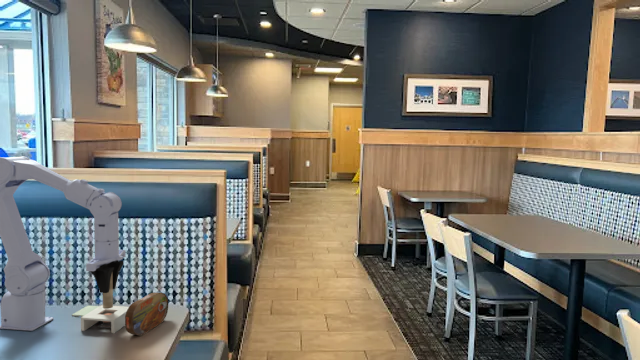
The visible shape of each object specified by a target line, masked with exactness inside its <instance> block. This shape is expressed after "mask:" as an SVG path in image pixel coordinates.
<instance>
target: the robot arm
mask: <svg viewBox="0 0 640 360" xmlns="http://www.w3.org/2000/svg"><path fill="white" fill-rule="evenodd" d="M29 180H34V181H36V182H39V183H41V184H44V185H46V186H48V187H51V188H53V189H55V190H59V191H60V192H62V193H63V194H64V197H65V199H66V200H68V201H70V202H72V203H74V204H77V205H79V206H81V207H83V208H85V209H87V210H89V212H90V213H91V214H92V216H93V221H94V222H93V226H94V229H93V230H94V231H93V232H94V234H93V235H94V256H93V258H92V259H90V260H89V261H88V262H86V264H85V271H86V272H90V273H91V274H92V276H93V277H94V279H95V281H96V284H97V287H98V291H99V294H103V293H108V292H109V289H110V279H111V274H112V272H113V290H115V289H116V285H117V282H118V279H119V275H120V273H121V270H122V268H123V266H124V263H125V261H124V260H123V259H124V258H126V249H120V241H119V240H120V238H119V237H120V236H119V234H120V233H119V232H120V231H119V229H120V228H119V227H120V226H119V223H120V222H119V211H120V210H121V208H122V205H123V203H122V199H121V198H120V196H119V195H117V194H116V193H115V192H113V191H108V192H105V191H106V190H105V189H104V188H98V187H96V186H93V185H91V184H89V183H88V182H89V181H88V180H86V179H83V178H82V179H79V178H78V179H74V180H73V179H72V180H70V179H69V178H67V177H65V176H63V175H62V174H59V173H57V172H56V171H54V170H52V169H50V168H48V167H46V166H44V165H42V163H40V162H38V161H37V160H34V159H30V158H29V157H26V156H24V155H23V156H22V155H20V156H14V157H13V156H12V157H4V156H3V157H1V156H0V240H1V242H2V245H3V247H4V250H5V253H6V256H7V259H8V260H7V262H6V264H5V266H4V268H3V272H4V274H5V279H4V286H5V288H6V291H7V292H5V293H4V294H3V296H2V298H1V301H0V323H1V324H0V329H1V330H2V329H3V330H4V329H5V330H15V331H17V330H18V331H29V332H30V331H35V330H37V329H39V328H40V327H42V326H43V325H45V324H48V323H49V322H51V321H53V320H54V317H52V316H46V295H45V294H46V292H45V291H46V290H45V289H46V283H47V282H48V280H49V278H50V276H51V271H50V268H49V266H48V265H47V264H46V263H45V262H44V260H43V259H42V257H41V255H39V254H38V253H36V252H34V251H33V248H32V245H31V243H30V239H29V237H28V234H27V230H26V229H25V225H24V222H23V219H22V217H21V214H20V212H19V208H18V205H17V203H16V201H15V198H14V194H15V192H16V191H17V190H18V189H19V187H20V186H21V185H23V184H24V183H25V182H26V181H29Z"/></svg>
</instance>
